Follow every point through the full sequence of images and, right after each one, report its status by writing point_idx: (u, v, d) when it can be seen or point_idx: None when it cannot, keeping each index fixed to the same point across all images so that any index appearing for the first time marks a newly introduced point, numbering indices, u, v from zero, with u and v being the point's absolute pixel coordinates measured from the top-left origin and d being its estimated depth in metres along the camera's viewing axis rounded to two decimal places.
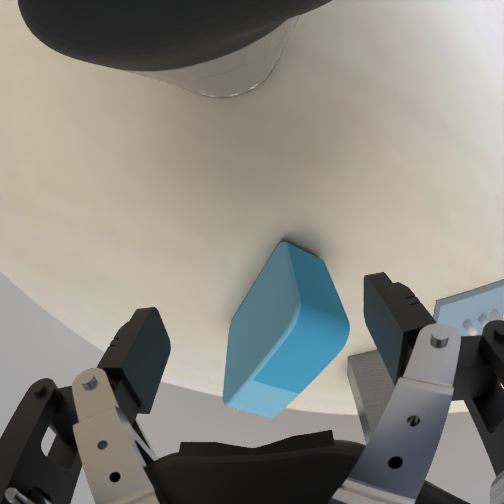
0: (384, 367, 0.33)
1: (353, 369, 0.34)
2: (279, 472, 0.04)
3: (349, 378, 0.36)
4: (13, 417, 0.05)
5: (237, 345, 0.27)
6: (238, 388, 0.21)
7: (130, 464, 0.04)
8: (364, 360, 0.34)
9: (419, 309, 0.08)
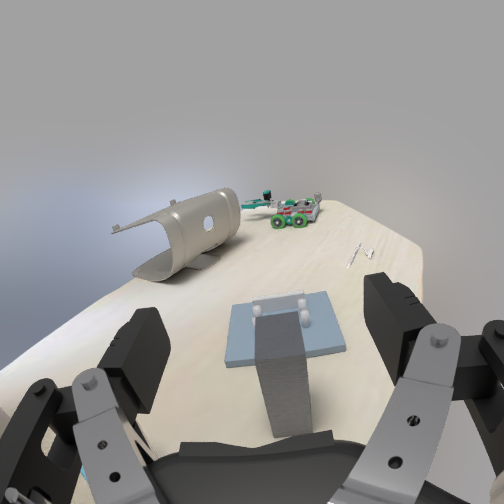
0: None
1: None
2: (279, 472, 0.04)
3: (304, 428, 0.26)
4: (13, 417, 0.05)
5: None
6: None
7: (130, 464, 0.04)
8: None
9: (419, 309, 0.08)
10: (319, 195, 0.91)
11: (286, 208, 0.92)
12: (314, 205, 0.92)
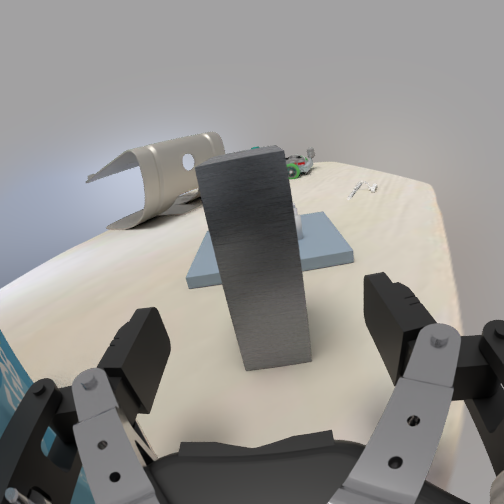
0: None
1: None
2: (279, 472, 0.04)
3: (296, 349, 0.17)
4: (13, 417, 0.05)
5: None
6: None
7: (130, 464, 0.04)
8: None
9: (419, 309, 0.08)
10: (312, 150, 0.82)
11: None
12: (307, 160, 0.83)
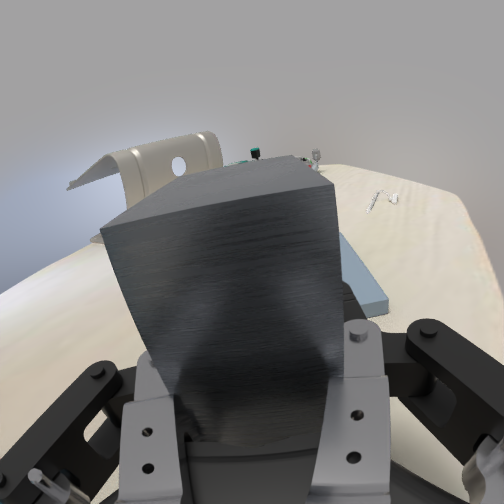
0: None
1: None
2: (279, 472, 0.04)
3: None
4: (62, 395, 0.06)
5: None
6: None
7: (168, 459, 0.04)
8: None
9: (353, 305, 0.09)
10: (318, 151, 0.74)
11: None
12: (312, 163, 0.75)
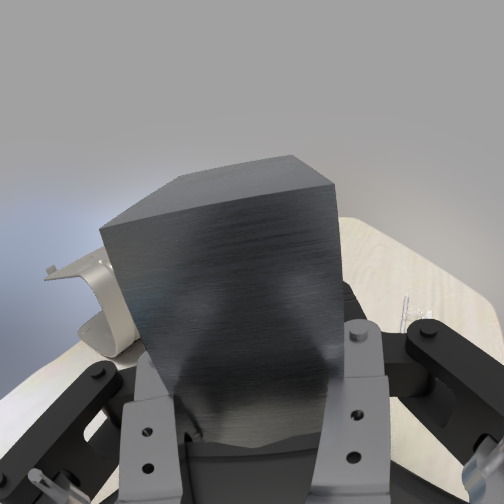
0: None
1: None
2: (279, 472, 0.04)
3: None
4: (62, 395, 0.06)
5: None
6: None
7: (168, 460, 0.04)
8: None
9: (353, 305, 0.09)
10: None
11: None
12: None
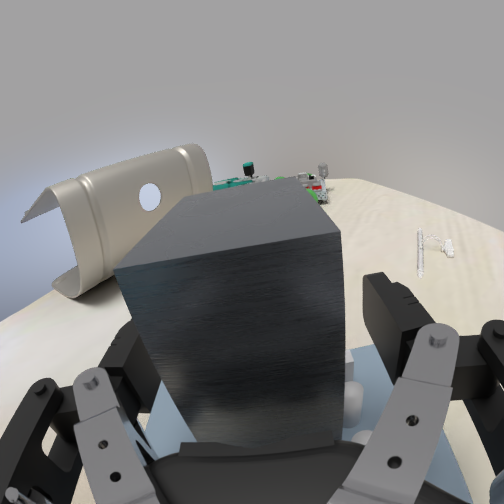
0: None
1: None
2: (279, 472, 0.04)
3: None
4: (14, 416, 0.05)
5: None
6: None
7: (131, 464, 0.04)
8: None
9: (418, 309, 0.08)
10: (325, 166, 0.61)
11: None
12: (319, 181, 0.62)
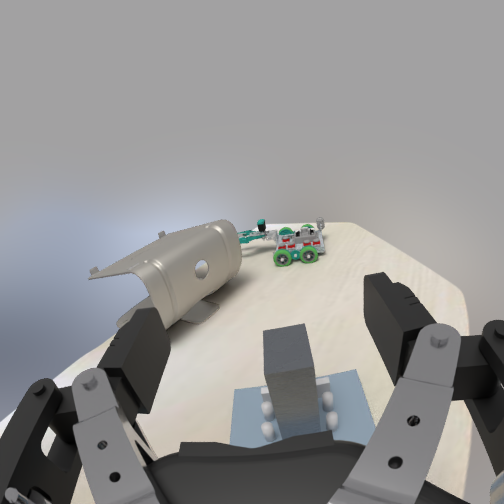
0: None
1: (281, 435, 0.26)
2: (279, 472, 0.04)
3: None
4: (13, 417, 0.05)
5: None
6: None
7: (130, 464, 0.04)
8: None
9: (419, 309, 0.08)
10: (322, 220, 0.79)
11: (286, 239, 0.78)
12: (317, 233, 0.79)
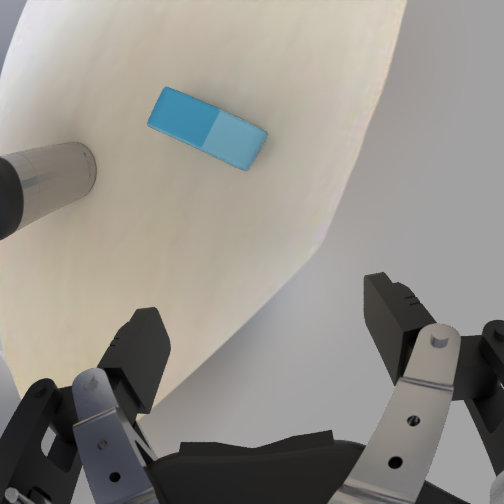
0: None
1: None
2: (279, 472, 0.04)
3: None
4: (13, 417, 0.05)
5: None
6: None
7: (130, 464, 0.04)
8: None
9: (419, 309, 0.08)
10: None
11: None
12: None
